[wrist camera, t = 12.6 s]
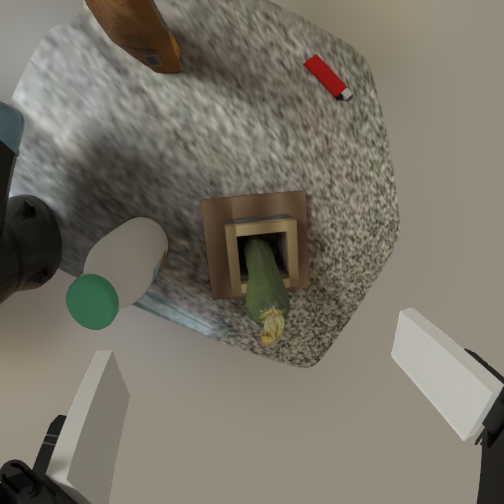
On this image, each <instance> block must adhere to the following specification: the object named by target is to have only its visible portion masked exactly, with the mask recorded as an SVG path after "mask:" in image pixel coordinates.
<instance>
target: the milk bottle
mask: <svg viewBox="0 0 504 504" xmlns="http://www.w3.org/2000/svg"><path fill="white" fill-rule="evenodd" d="M167 251H168V239H167V236H166V234H165V232H164V230H163V228H162V227H161V226H160V225H159V224H158V223H157V222H155V221H154V220H152V219H149V218H145V217H137V218H133V219H130V220H128V221H127V222H125V223H123V224H122V225H120V226H119V227H117V228H116V229H114V230H113V231H111V232H110V233H109V234H107V235H106V236H104V237H103V238H102V239H101V240H99V241H98V242H97V243H96V244H95V245H94V246H93V248H92V249H91V250H90V252H89V254H88V256H87V258H86V261H85V264H84V273H83V274H82V275H80V276H79V277H78V278H77V279H76V280H75V281H74V282H73V283H72V284H71V285H70V287H69V289H68V291H67V295H66V302H67V307H68V310H69V312H70V314H71V315H72V317H73V318H74V319H75V320H76V321H77V322H78V323H79V324H81V325H82V326H84V327H86V328H89V329H93V330H99V329H103V328H105V327H107V326H108V325H109V324H111V322H112V321H113V320H114V318H115V316H116V314H117V313H118V311H119V309H120V308H121V307H126V306H129V305H131V304H133V303H135V302H136V301H138V300H139V299H140V298H141V297H142V296H143V295H144V294H145V293H146V292H147V290H148V289H149V287H150V285H151V284H152V282H153V280H154V278H155V276H156V275H157V273H158V271H159V269H160V267H161V265H162V263H163V261H164V259H165V257H166V254H167Z"/></svg>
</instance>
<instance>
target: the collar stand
mask: <svg viewBox="0 0 504 504" xmlns="http://www.w3.org/2000/svg"><path fill="white" fill-rule="evenodd" d="M200 202H201V211H202V220H203V229H204V237H205V245H206V253H207V261H208V268H209V276H210V283H211V290H212V297H213V300H215V299H224V298H233V297H242V296H246V291H247V284H248V280H249V274H248V268H247V266H241V267H239V257H238V247H237V236H245V235H255V234H264V233H274V232H277V242H278V260H279V262H276V265H277V268H278V270H279V273H280V276H281V278H282V280H283V282H284V284H285V287H286V290H287V291H288V290H296V289H303V288H308V238H307V211H306V192H305V191H291V192H278V193H265V194H254V195H243V196H232V197H223V198H213V199H204V200H201V201H200Z"/></svg>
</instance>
